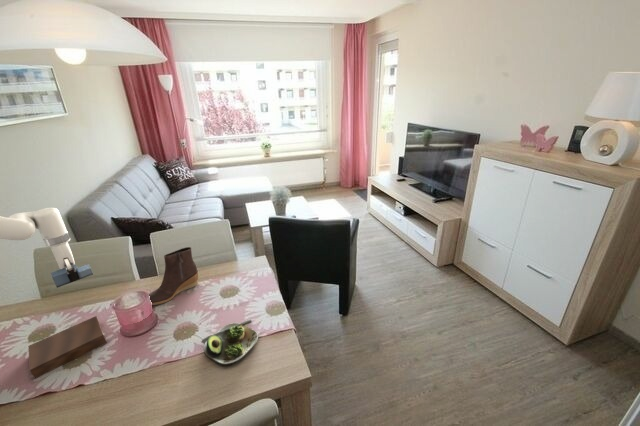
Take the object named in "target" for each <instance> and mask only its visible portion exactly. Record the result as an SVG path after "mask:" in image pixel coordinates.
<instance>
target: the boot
mask: <svg viewBox="0 0 640 426" xmlns="http://www.w3.org/2000/svg"><path fill="white" fill-rule="evenodd" d="M163 258H164V274H163V277H162V282H161V283H160V286H159V287H158V288H156V289H154V290H153V291H151V292H150V293H148V294H149V296H150V300H151V302H152V305H151V306H157V305H161V304H165V303H167V302H169V301H171V300H172V299H174V297H176V296H177V295H178V294H179V293H181V292H183V291H186V290H189V289H192V288H195V287H196V286H197V285H198V284H199V283H198V282H199V269H198V265H197V263H196V262H195V261H194V259H193V253H192V247H191V246H186V247H182V248H179V249H176V250H175V251H171V252H169V253H166V254H164V255H163Z"/></svg>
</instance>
